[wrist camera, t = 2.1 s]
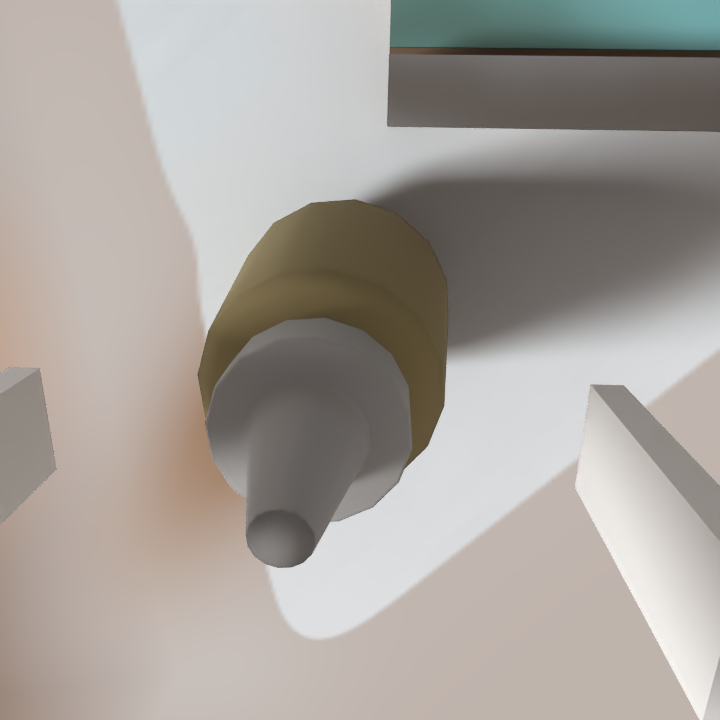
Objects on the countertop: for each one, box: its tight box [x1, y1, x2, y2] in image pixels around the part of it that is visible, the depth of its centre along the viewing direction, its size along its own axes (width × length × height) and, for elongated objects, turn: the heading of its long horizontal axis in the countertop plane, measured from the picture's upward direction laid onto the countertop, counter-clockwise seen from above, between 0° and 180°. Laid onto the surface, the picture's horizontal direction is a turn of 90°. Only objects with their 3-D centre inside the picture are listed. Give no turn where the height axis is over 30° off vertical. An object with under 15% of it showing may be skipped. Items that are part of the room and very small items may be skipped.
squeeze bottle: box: [198, 200, 448, 568], centre depth 19 cm, size 8×8×18 cm
